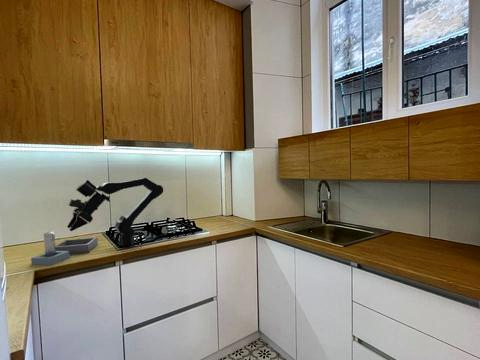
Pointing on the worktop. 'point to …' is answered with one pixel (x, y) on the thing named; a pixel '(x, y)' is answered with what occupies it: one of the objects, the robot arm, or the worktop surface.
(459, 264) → the worktop surface
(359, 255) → the worktop surface
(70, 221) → the robot arm
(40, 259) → the socket block
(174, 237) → the worktop surface
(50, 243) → the stop pin
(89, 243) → the tray
